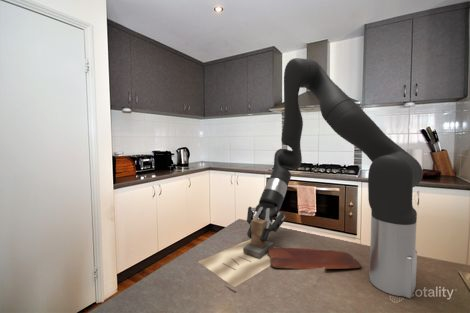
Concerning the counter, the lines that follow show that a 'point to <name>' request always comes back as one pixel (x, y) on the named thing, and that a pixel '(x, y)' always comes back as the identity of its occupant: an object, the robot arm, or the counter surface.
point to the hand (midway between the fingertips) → (255, 239)
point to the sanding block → (257, 240)
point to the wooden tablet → (311, 259)
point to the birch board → (236, 264)
